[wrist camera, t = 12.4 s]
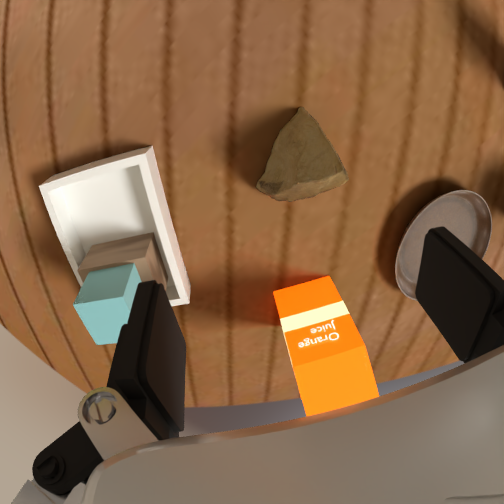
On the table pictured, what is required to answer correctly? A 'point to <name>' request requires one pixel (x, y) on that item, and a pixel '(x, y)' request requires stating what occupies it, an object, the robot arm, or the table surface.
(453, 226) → the plant saucer
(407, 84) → the table surface
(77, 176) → the white tray
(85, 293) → the teal box
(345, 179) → the rock
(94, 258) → the walnut block
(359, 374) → the orange juice
